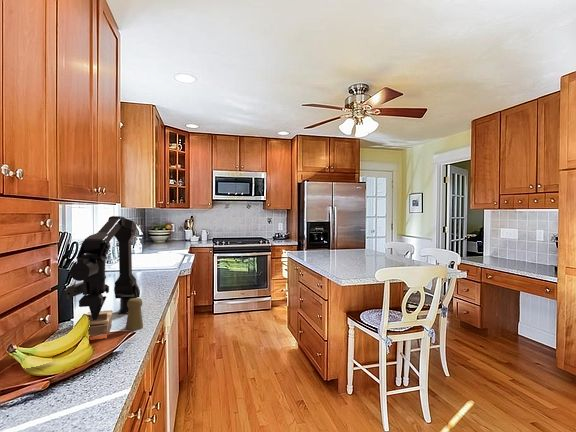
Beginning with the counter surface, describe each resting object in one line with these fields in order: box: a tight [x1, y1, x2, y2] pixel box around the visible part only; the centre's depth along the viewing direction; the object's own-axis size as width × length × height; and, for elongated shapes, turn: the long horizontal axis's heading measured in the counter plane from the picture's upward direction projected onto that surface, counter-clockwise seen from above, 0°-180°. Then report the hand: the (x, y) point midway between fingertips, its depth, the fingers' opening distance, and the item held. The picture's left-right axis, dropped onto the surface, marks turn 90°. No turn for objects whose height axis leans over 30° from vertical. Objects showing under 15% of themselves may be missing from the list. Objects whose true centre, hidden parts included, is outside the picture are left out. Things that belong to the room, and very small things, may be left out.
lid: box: [86, 309, 113, 325], centre depth 115 cm, size 12×8×3 cm, turn 22°
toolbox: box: [89, 315, 113, 337], centre depth 113 cm, size 12×8×4 cm, turn 22°
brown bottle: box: [125, 297, 144, 332], centre depth 119 cm, size 6×6×11 cm
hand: (94, 319), depth 109 cm, fingers closed
